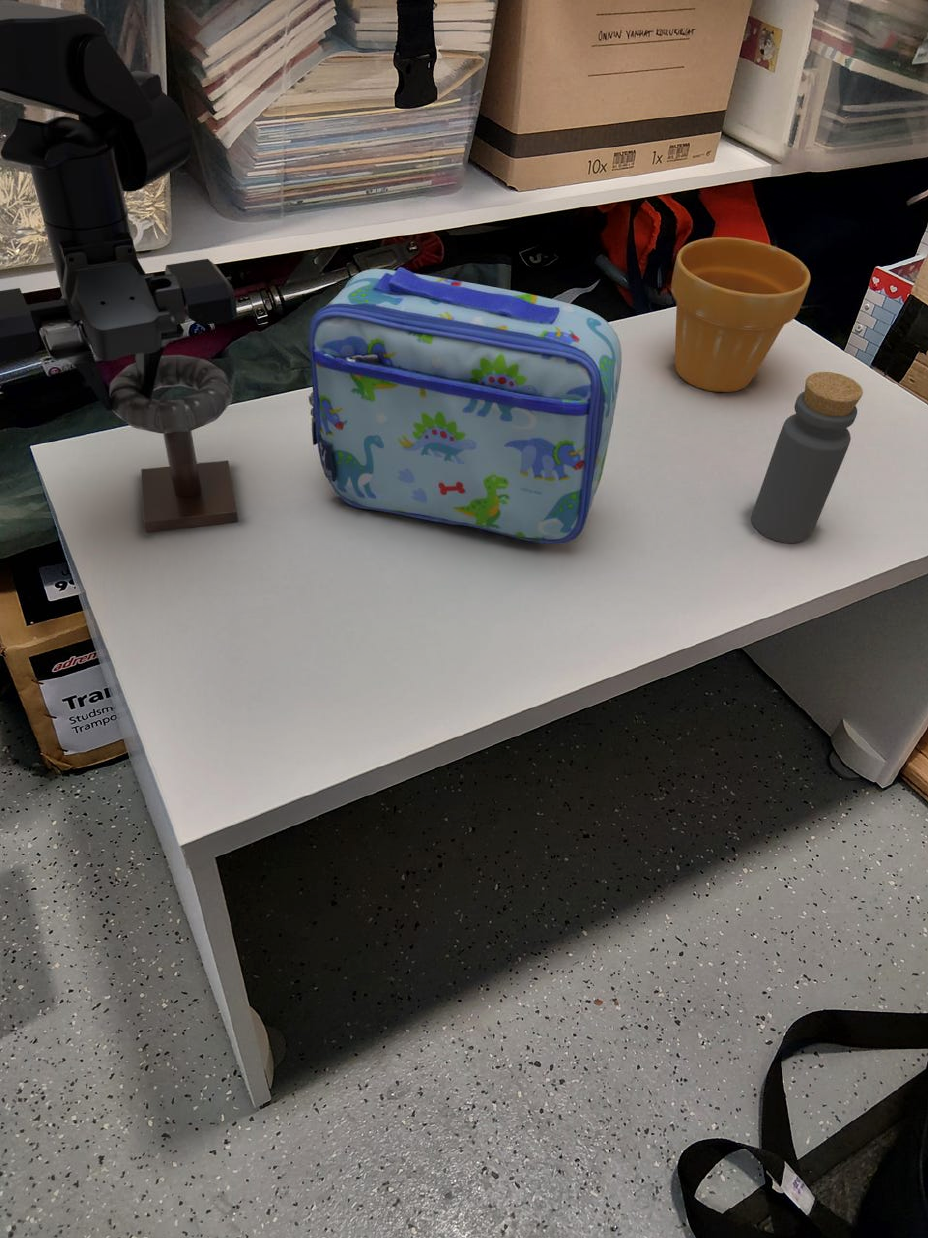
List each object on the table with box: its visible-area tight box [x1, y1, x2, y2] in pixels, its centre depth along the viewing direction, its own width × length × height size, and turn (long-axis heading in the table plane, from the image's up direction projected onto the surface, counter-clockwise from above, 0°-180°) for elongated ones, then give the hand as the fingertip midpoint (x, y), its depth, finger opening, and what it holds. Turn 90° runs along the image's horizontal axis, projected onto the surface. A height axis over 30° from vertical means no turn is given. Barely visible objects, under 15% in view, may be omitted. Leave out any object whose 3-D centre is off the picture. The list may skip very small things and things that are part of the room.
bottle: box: [751, 371, 864, 544], centre depth 84 cm, size 6×6×15 cm
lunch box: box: [308, 266, 623, 545], centre depth 81 cm, size 26×11×21 cm, turn 72°
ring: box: [108, 354, 233, 435], centre depth 78 cm, size 10×10×3 cm
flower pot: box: [670, 236, 811, 393], centre depth 104 cm, size 14×14×13 cm
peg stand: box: [140, 430, 239, 533], centre depth 84 cm, size 8×8×8 cm
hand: (127, 404), depth 77 cm, fingers closed on ring, 3 cm apart
